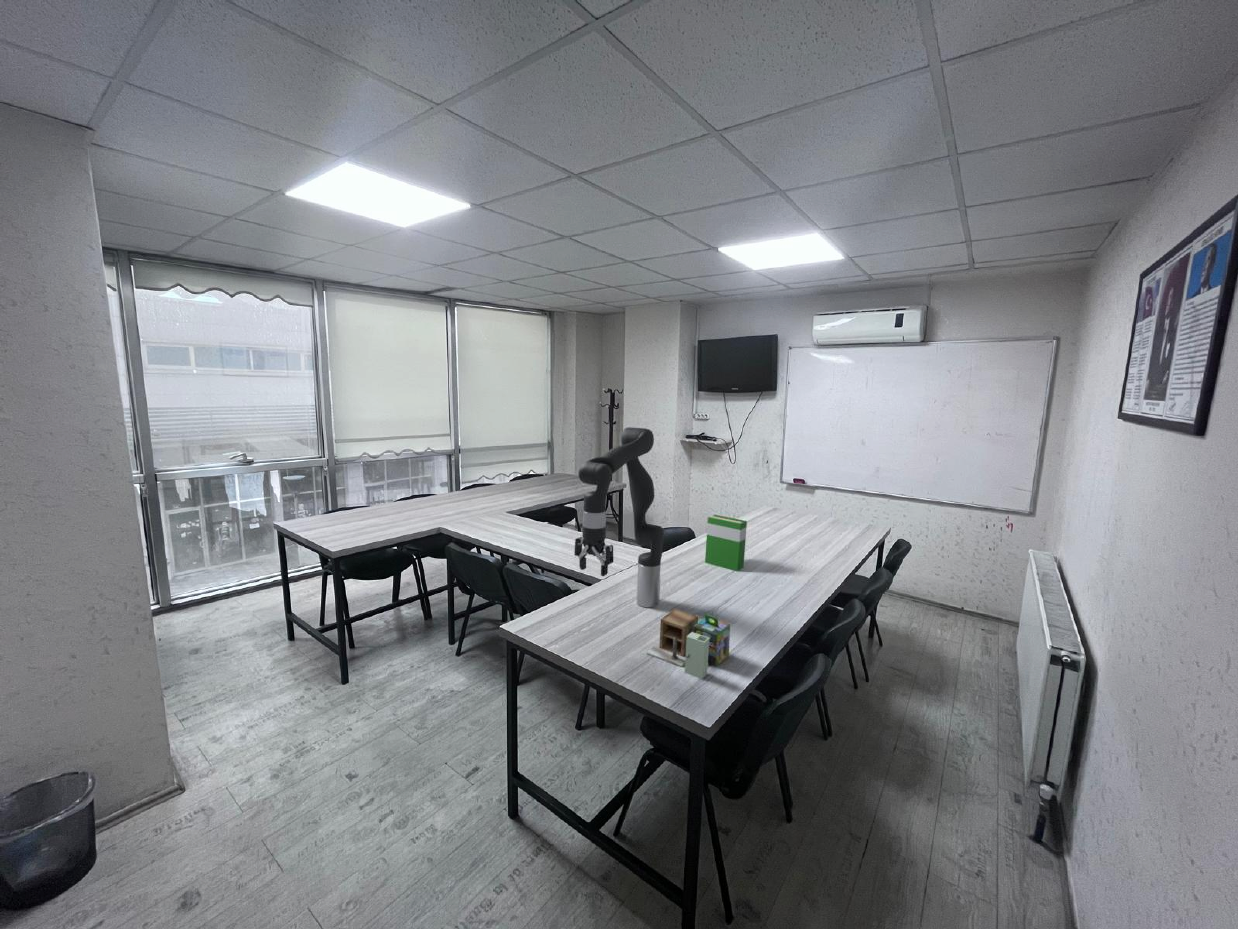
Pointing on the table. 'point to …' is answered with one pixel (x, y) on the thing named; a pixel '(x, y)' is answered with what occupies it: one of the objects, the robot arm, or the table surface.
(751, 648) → the table surface
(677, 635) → the small wooden cupboard
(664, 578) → the table surface
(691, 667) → the hollow square pipe
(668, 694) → the table surface
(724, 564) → the hardback book
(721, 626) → the chalk box
